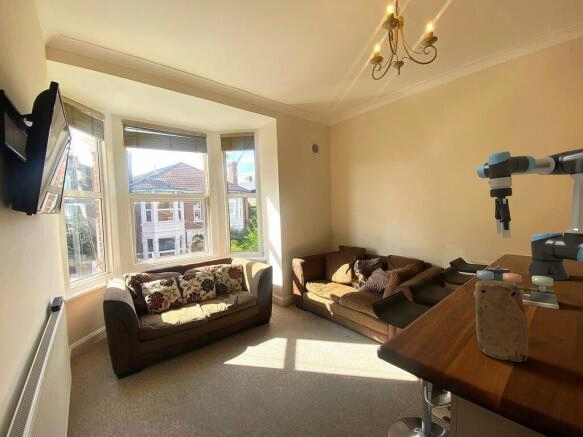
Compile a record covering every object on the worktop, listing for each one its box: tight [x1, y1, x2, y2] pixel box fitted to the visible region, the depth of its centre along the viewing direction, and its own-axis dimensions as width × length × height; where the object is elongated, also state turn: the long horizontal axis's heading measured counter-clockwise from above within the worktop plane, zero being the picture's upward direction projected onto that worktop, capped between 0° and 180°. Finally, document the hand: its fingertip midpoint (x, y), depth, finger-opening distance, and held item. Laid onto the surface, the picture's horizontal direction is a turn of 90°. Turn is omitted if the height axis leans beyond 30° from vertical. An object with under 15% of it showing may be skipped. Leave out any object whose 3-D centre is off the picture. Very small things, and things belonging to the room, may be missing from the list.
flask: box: [485, 265, 511, 282], centre depth 120 cm, size 9×3×11 cm, turn 68°
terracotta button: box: [503, 272, 523, 286], centre depth 105 cm, size 6×6×6 cm
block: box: [474, 279, 529, 363], centre depth 68 cm, size 11×8×20 cm
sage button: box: [531, 276, 554, 293], centre depth 99 cm, size 6×6×6 cm
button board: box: [473, 281, 560, 310], centre depth 106 cm, size 26×10×5 cm, turn 48°
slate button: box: [476, 270, 494, 280], centre depth 112 cm, size 6×6×6 cm
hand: (503, 235), depth 111 cm, fingers open, 13 cm apart
